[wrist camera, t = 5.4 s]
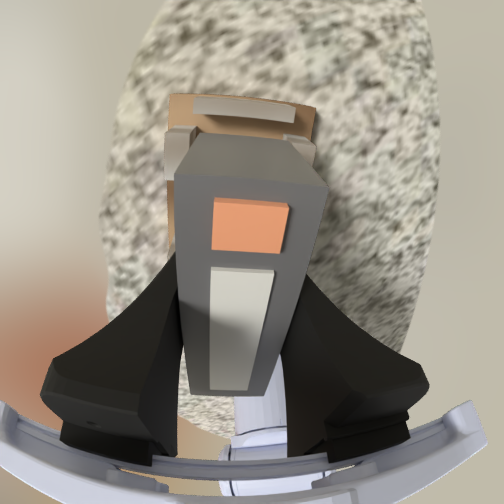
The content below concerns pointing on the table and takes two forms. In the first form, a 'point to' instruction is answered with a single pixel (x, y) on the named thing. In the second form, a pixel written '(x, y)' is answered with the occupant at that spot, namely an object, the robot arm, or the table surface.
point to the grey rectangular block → (241, 256)
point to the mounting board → (230, 129)
